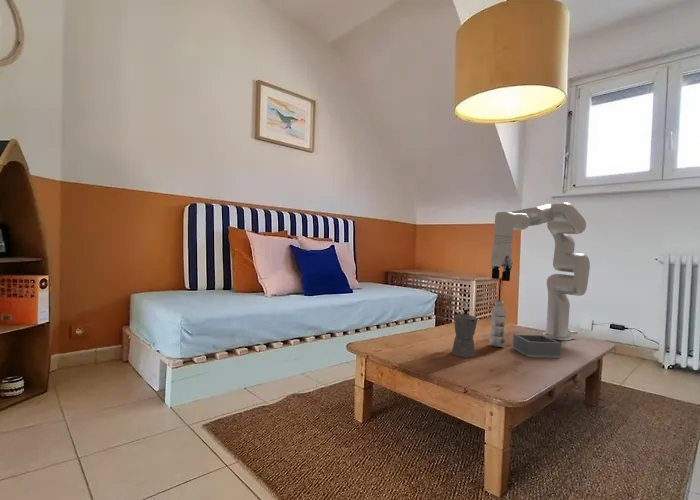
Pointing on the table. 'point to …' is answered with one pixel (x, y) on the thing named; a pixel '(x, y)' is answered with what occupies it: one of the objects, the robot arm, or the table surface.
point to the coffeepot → (464, 335)
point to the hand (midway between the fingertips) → (500, 279)
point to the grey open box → (536, 346)
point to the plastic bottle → (498, 324)
